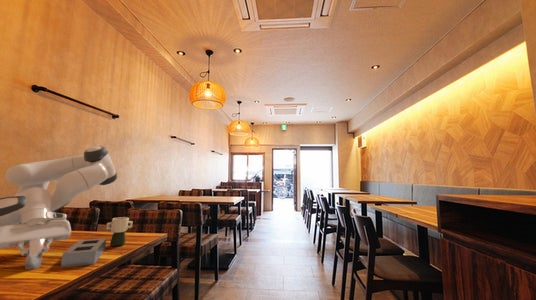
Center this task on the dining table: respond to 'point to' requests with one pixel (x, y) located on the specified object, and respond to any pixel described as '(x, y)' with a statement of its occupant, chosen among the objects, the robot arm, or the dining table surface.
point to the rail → (83, 253)
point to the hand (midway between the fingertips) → (35, 252)
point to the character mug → (119, 230)
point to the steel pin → (34, 253)
